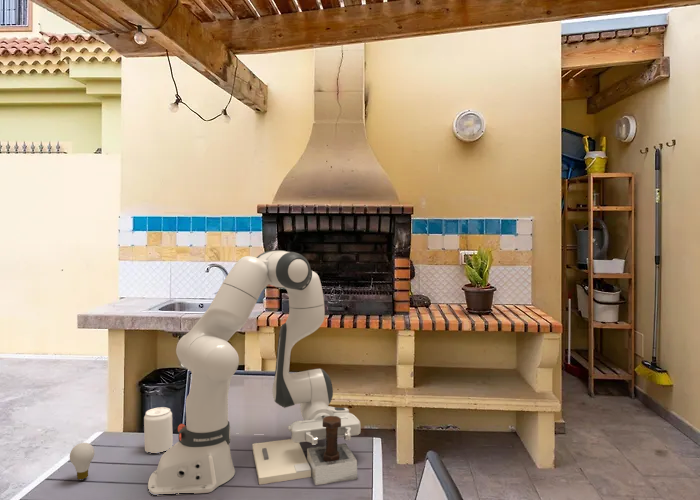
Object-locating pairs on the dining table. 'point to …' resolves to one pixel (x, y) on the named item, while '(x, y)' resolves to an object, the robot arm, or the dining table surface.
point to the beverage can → (158, 430)
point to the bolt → (331, 437)
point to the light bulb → (82, 459)
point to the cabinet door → (280, 461)
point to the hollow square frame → (332, 465)
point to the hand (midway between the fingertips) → (331, 439)
